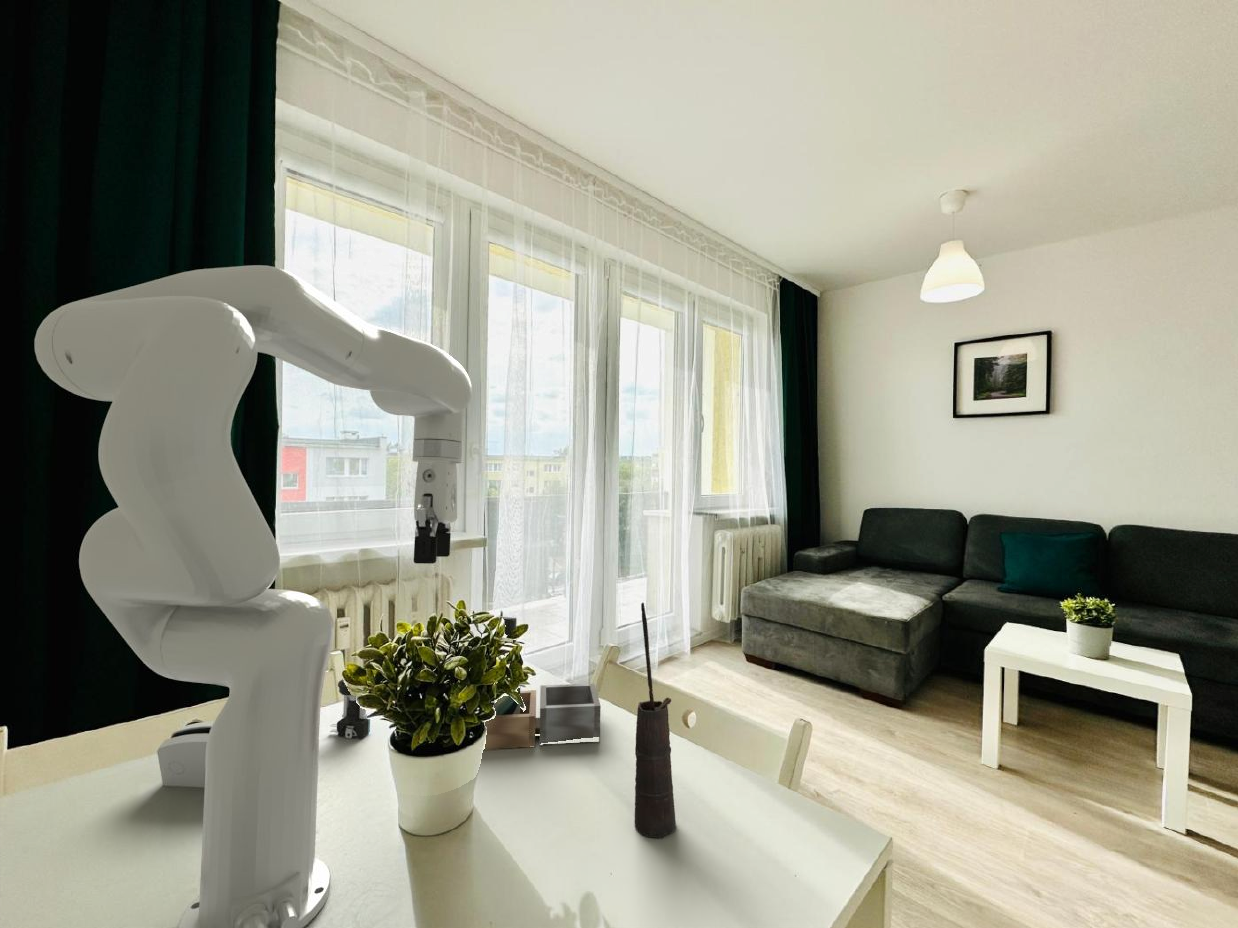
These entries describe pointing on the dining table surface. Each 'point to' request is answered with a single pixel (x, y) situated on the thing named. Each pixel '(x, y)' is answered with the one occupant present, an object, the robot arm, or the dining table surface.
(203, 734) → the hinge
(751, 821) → the dining table surface
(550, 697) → the bottle stand
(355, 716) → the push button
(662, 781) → the butter churn
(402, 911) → the dining table surface
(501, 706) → the lotion bottle
